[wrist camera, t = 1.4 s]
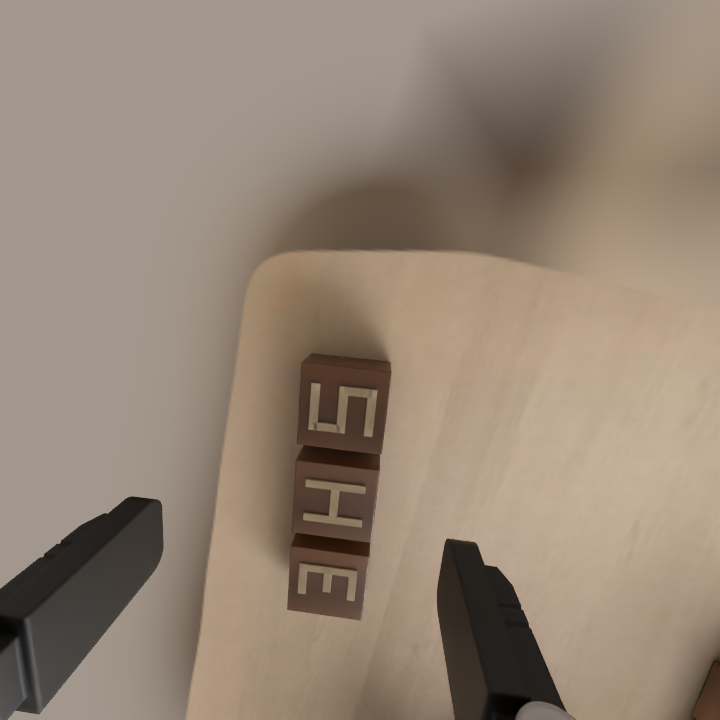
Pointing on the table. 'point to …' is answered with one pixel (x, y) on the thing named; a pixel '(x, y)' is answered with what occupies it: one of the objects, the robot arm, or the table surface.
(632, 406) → the table surface
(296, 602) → the tile
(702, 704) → the tile
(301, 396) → the tile
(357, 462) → the tile
